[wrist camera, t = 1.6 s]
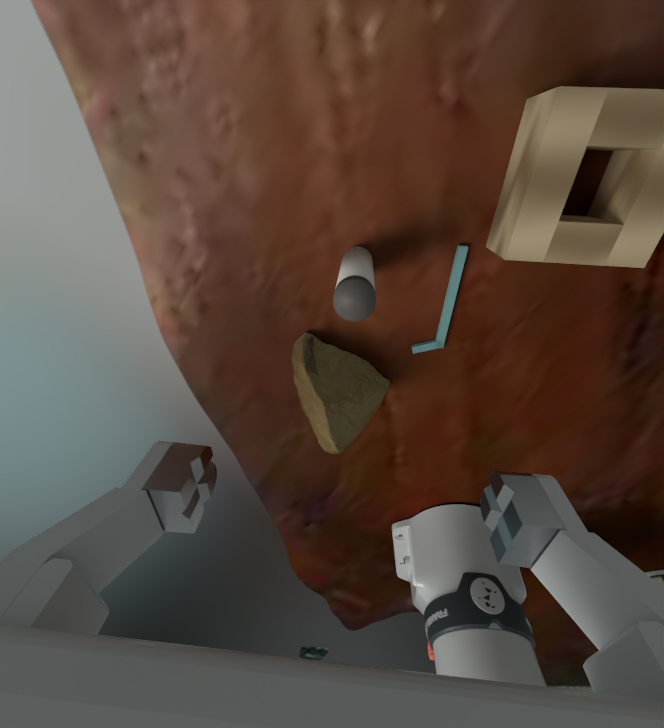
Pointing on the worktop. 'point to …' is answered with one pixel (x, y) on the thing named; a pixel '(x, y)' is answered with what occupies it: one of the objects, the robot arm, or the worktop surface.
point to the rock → (335, 391)
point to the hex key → (446, 303)
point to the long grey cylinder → (355, 285)
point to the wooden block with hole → (559, 168)
